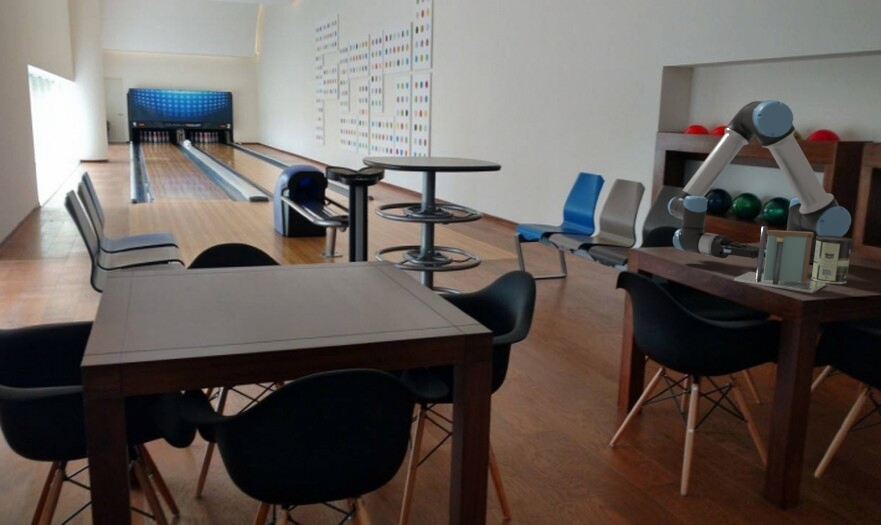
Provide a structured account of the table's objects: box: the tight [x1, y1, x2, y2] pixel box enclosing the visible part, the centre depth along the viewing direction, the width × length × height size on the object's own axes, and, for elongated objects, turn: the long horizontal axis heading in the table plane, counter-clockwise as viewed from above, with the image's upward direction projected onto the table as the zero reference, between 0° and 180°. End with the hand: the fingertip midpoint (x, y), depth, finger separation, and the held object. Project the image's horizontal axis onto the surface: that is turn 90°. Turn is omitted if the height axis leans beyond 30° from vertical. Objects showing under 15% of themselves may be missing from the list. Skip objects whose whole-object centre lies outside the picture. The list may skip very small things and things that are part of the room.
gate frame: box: [733, 226, 826, 294], centre depth 231 cm, size 15×23×18 cm, turn 50°
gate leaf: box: [762, 229, 814, 282], centre depth 228 cm, size 13×2×15 cm, turn 83°
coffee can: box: [811, 236, 854, 285], centre depth 237 cm, size 10×10×14 cm
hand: (782, 257), depth 232 cm, fingers closed
